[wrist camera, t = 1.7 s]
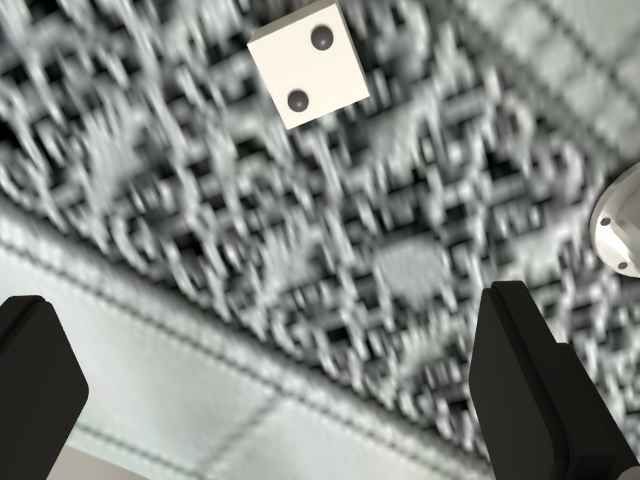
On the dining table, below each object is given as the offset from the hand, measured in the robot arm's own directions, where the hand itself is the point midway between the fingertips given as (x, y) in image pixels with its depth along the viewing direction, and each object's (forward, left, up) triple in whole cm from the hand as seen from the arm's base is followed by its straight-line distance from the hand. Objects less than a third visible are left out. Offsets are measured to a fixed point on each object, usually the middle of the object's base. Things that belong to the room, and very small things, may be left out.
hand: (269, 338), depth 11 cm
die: (0, 0, -30) cm, 30 cm away
